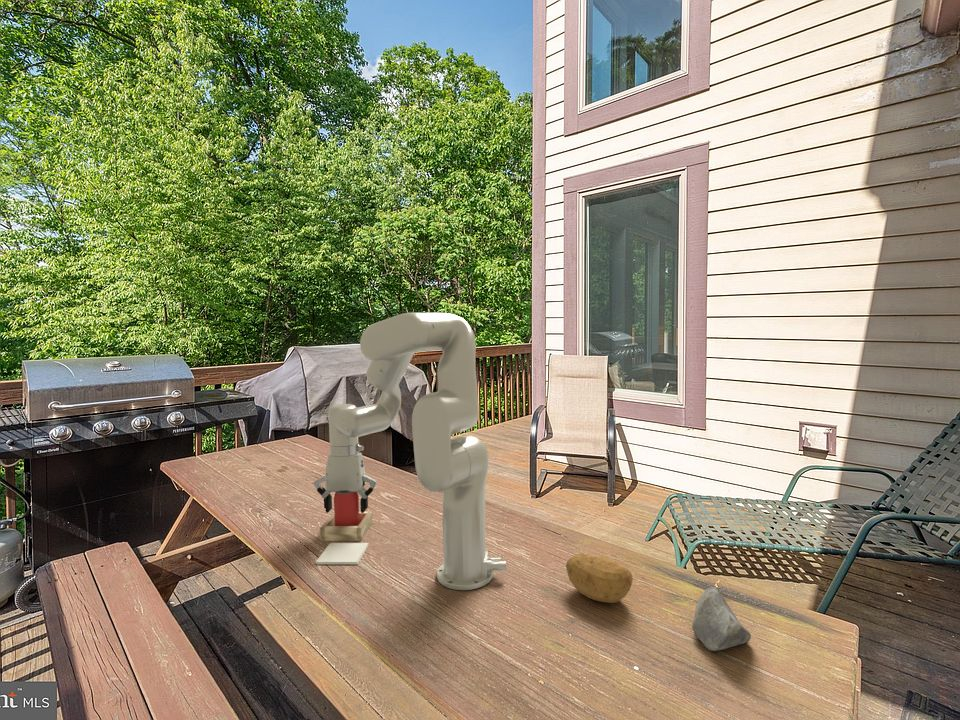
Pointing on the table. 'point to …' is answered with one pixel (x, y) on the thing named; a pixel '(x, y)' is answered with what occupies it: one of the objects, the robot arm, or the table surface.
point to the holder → (346, 529)
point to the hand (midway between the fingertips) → (346, 510)
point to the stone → (717, 622)
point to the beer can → (346, 509)
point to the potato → (599, 577)
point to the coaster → (342, 553)
